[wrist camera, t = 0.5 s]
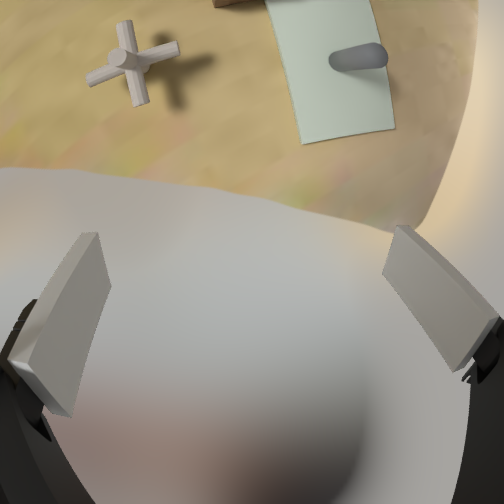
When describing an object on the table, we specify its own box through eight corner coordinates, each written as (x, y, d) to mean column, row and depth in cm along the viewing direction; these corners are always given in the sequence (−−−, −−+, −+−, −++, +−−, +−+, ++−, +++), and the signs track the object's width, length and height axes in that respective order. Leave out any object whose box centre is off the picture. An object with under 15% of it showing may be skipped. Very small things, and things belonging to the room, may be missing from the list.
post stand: (263, -1, 23) (283, -32, 15) (363, -3, 23) (405, -21, 15) (300, 143, 34) (330, 160, 25) (391, 127, 34) (436, 142, 25)
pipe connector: (175, 20, 24) (162, -7, 15) (191, 91, 29) (183, 89, 20) (97, 47, 24) (61, 35, 15) (113, 116, 29) (80, 126, 20)
